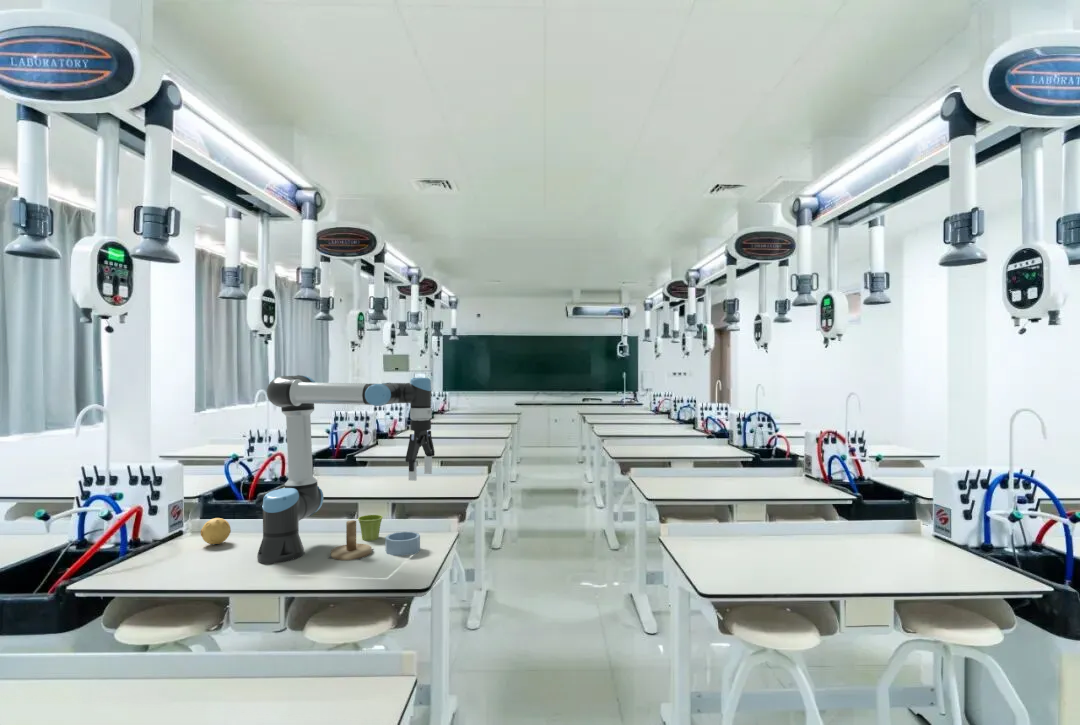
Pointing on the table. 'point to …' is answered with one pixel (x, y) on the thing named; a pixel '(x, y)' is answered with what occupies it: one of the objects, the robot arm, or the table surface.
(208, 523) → the potato
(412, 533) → the bowl
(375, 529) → the plant pot
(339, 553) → the lid
